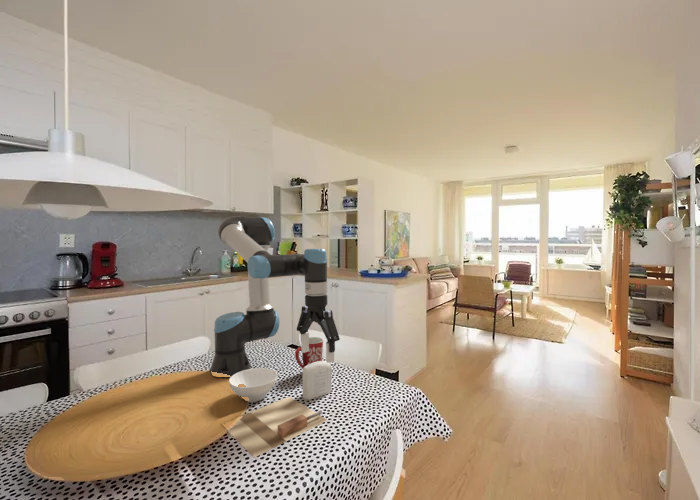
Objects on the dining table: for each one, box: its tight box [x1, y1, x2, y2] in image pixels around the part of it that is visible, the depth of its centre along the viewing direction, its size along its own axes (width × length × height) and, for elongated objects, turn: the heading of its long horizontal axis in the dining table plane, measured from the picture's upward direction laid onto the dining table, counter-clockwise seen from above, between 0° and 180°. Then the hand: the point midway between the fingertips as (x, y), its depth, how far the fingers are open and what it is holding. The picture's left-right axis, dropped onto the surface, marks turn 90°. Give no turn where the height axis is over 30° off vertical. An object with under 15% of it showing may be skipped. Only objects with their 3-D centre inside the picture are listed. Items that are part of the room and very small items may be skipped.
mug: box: [294, 336, 325, 370], centre depth 130 cm, size 13×9×14 cm
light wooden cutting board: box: [227, 396, 328, 458], centre depth 93 cm, size 20×23×2 cm
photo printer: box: [302, 360, 332, 401], centre depth 110 cm, size 10×4×12 cm, turn 123°
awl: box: [278, 410, 323, 438], centre depth 91 cm, size 14×2×2 cm, turn 134°
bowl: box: [228, 367, 278, 403], centre depth 111 cm, size 16×16×7 cm
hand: (317, 356), depth 109 cm, fingers open, 13 cm apart
